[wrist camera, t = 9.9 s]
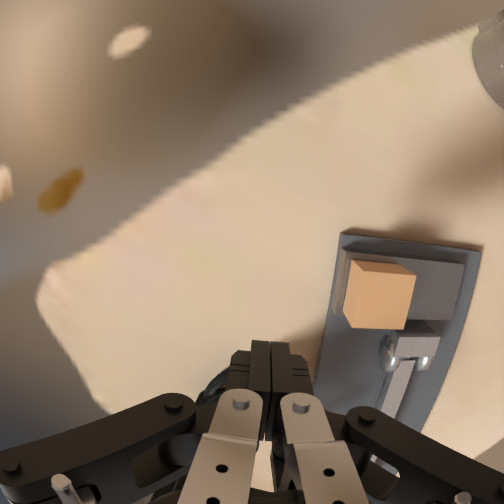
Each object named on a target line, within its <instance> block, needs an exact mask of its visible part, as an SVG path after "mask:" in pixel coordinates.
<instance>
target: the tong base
mask: <svg viewBox="0 0 504 504" xmlns="http://www.w3.org/2000/svg"><path fill="white" fill-rule="evenodd" d="M351 260H360V261H370V262H380V263H391V264H400V265H402V266H403V267H405V268H406V269H407V270H409V271H410V272H412V273H413V274H415V275H416V280H415V285H414V289H413V294H412V298H411V302H410V306H409V310H408V314H407V318H406V319H414V320H406V322H405V326H404V329H383V330H382V334H381V342H380V345H379V351H378V361H379V366H380V369H381V370H382V372H381V375H380V378H379V381H378V384H377V387H376V390H375V393H374V396H373V398H372V401H371V404H370V407H373V408H377V405H378V402H379V399H380V397H381V394H382V391H383V388H384V385H385V382H386V378H387V375H388V372H394V371H396V370H397V369H398V367H399V365H400V362H401V358H402V357H413V358H414V359H415V363H414V366H413V370H415V371H424V370H427V369H428V368H429V367H430V366H431V364H432V362H433V358H434V356H435V353H436V350H437V347H438V344H439V341H440V338H441V337H440V336H439V335H438V334H437V333H436V332H435V331H434V330H433V329H432V328H431V327H430V326H429V325H428V324H427V323H426V322H425V321H424V320H451V318H452V315H453V311H454V308H455V304H456V300H457V296H458V292H459V288H460V284H461V280H462V276H463V271H464V266H465V265H464V264H462V263H460V262H458V261H456V260H448V259H439V258H431V257H422V256H413V255H404V254H395V253H386V252H377V251H367V250H358V249H349V248H341V253H340V259H339V266H338V272H337V278H336V284H335V290H334V296H333V302H332V307H331V309H332V311H333V313H334V315H335V316H345V314H344V312H343V306H344V301H345V295H346V290H347V284H348V278H349V273H350V266H351Z"/></svg>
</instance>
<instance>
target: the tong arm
mask: <svg viewBox="0 0 504 504" xmlns="http://www.w3.org/2000/svg"><path fill="white" fill-rule="evenodd" d="M414 363H415V359H414V358H413V357H402V358H401V362H400V365H399V367H398V369H397V370H396V371H394V372H388V375H387V378H386V382H385V385H384V388H383V391H382V394H381V397H380V399H379V402H378V405H377V408H376V409H378V410H379V411H381V412H383V413H385V414H387V415H388V416H390V417H392V418H395V416H396V413H397V411H398V408H399V406H400V403H401V400H402V398H403V395H404V392H405V390H406V387H407V384H408V381H409V378H410V375H411V372H412V369H413V366H414ZM376 458H377V457H376V456H375V455H372V457H371V459H370V460H371V461H373V462H374V463H375V460H376Z"/></svg>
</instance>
